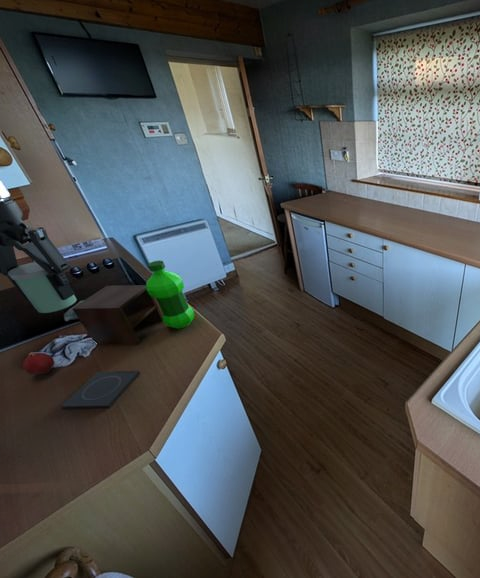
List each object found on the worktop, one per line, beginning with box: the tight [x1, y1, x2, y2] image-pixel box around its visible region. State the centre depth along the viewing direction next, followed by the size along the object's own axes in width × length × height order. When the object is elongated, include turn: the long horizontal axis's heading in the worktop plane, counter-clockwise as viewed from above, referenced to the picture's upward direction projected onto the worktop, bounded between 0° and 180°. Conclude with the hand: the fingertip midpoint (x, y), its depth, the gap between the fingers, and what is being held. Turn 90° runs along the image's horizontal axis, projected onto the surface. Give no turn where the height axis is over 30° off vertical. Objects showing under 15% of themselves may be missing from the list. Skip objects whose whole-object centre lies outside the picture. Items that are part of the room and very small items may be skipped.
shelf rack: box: [71, 284, 163, 346], centre depth 100 cm, size 14×14×15 cm
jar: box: [8, 261, 78, 314], centre depth 69 cm, size 7×7×10 cm
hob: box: [60, 370, 141, 410], centre depth 82 cm, size 12×12×1 cm
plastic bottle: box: [145, 260, 195, 330], centre depth 101 cm, size 10×10×25 cm
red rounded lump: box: [22, 352, 55, 375], centre depth 85 cm, size 6×6×8 cm
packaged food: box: [63, 299, 85, 322], centre depth 111 cm, size 9×12×5 cm
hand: (51, 297), depth 70 cm, fingers closed on jar, 7 cm apart
